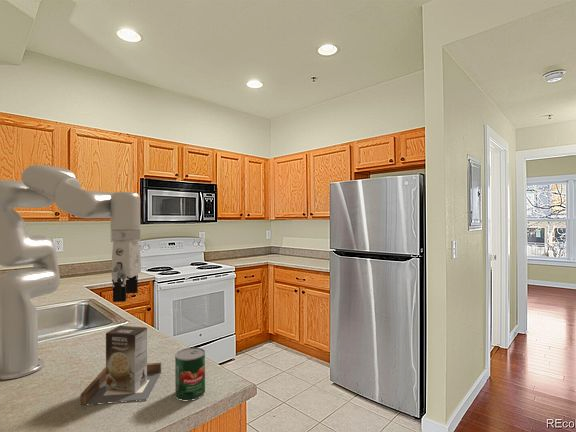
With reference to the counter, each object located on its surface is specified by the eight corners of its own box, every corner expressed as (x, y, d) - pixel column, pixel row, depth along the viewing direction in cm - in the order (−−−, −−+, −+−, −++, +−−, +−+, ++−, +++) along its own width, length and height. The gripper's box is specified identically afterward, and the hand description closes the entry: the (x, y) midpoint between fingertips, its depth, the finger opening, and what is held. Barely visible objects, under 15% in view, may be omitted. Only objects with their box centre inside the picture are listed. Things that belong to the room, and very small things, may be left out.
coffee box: (104, 391, 91) (103, 332, 91) (119, 379, 98) (119, 325, 98) (135, 393, 90) (134, 334, 90) (148, 382, 96) (147, 326, 96)
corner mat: (80, 405, 85) (80, 403, 85) (106, 375, 101) (106, 374, 101) (146, 400, 88) (146, 398, 88) (161, 372, 103) (161, 370, 103)
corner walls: (80, 405, 85) (80, 394, 85) (106, 375, 101) (106, 366, 101) (146, 400, 88) (146, 389, 88) (161, 372, 103) (161, 362, 103)
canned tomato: (189, 404, 86) (188, 361, 86) (168, 396, 90) (168, 355, 90) (211, 390, 92) (211, 351, 92) (191, 383, 96) (191, 345, 96)
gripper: (129, 238, 85) (129, 304, 85) (148, 234, 103) (148, 289, 103) (98, 238, 84) (98, 306, 84) (122, 234, 102) (123, 290, 102)
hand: (126, 297), depth 94 cm, fingers open, 9 cm apart
